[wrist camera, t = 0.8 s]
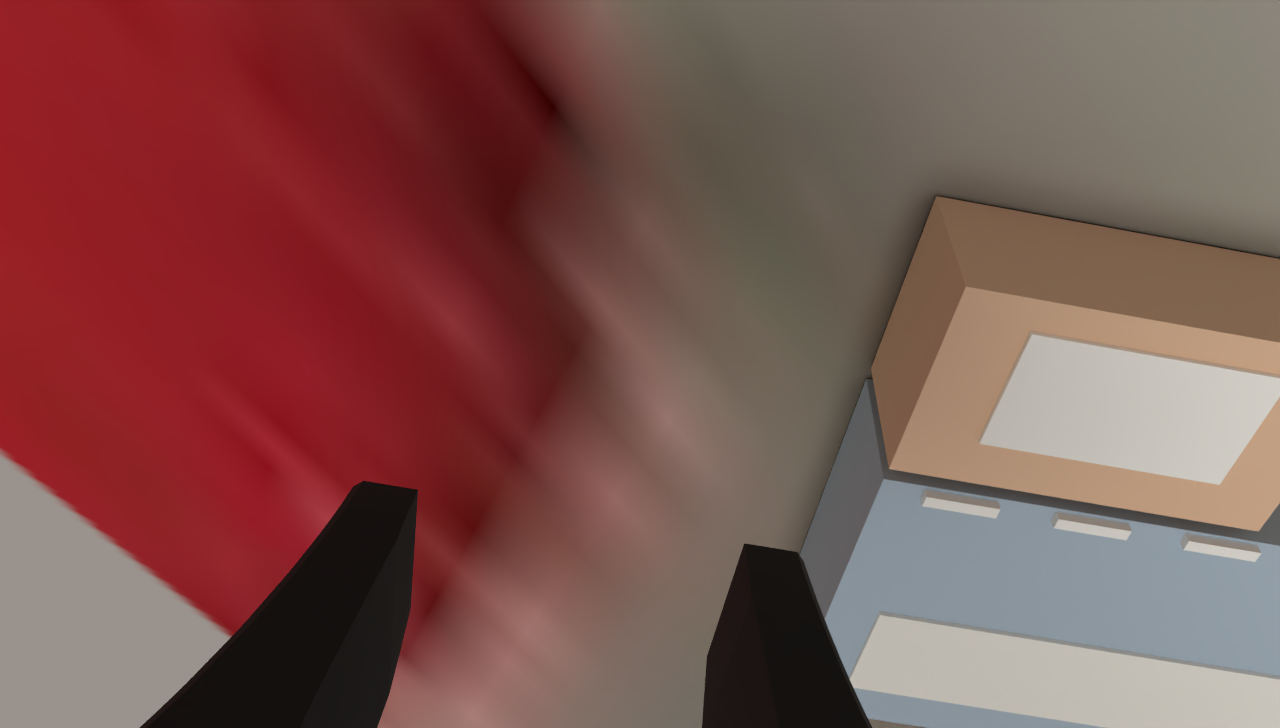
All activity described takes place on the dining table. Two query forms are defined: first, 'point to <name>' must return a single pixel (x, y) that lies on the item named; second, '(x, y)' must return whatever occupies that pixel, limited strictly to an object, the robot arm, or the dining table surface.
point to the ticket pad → (1038, 603)
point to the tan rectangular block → (1085, 366)
